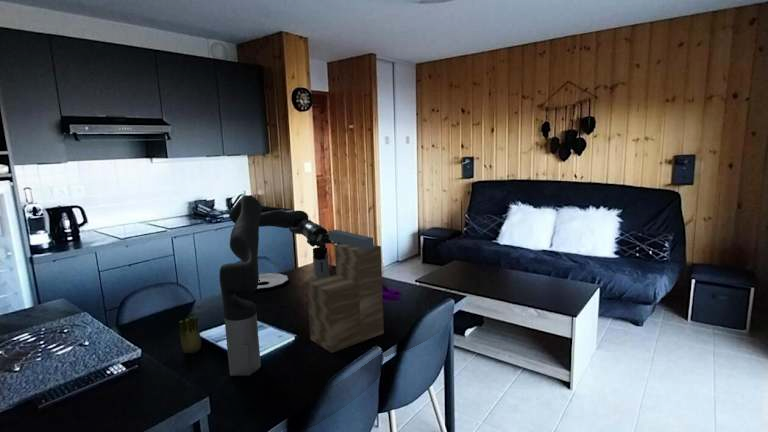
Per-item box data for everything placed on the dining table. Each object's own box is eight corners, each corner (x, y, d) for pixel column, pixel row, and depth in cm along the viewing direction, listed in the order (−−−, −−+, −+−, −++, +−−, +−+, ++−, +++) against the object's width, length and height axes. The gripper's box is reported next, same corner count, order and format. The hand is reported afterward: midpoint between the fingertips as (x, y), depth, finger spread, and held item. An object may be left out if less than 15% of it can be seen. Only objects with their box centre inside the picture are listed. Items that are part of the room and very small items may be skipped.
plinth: (383, 333, 153) (380, 246, 148) (331, 352, 139) (326, 257, 134) (360, 321, 163) (357, 240, 158) (310, 339, 150) (304, 250, 145)
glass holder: (324, 272, 232) (322, 245, 229) (338, 278, 221) (337, 250, 219) (310, 276, 226) (308, 248, 224) (324, 281, 215) (322, 253, 213)
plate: (237, 280, 224) (237, 276, 224) (286, 274, 232) (286, 271, 231) (236, 294, 201) (236, 290, 200) (290, 288, 208) (290, 284, 208)
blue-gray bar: (373, 247, 146) (373, 237, 145) (365, 249, 143) (364, 239, 143) (336, 238, 163) (336, 229, 163) (329, 239, 161) (328, 230, 161)
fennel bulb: (181, 356, 140) (177, 321, 138) (184, 349, 145) (180, 316, 143) (200, 353, 141) (197, 319, 140) (202, 347, 146) (199, 314, 144)
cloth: (356, 304, 184) (355, 291, 183) (363, 290, 202) (363, 278, 201) (407, 305, 181) (407, 291, 180) (410, 291, 199) (410, 278, 198)
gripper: (329, 240, 182) (349, 253, 170) (298, 243, 174) (317, 256, 161) (331, 223, 180) (351, 235, 168) (300, 225, 172) (318, 238, 159)
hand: (334, 245), depth 164 cm, fingers open, 8 cm apart
